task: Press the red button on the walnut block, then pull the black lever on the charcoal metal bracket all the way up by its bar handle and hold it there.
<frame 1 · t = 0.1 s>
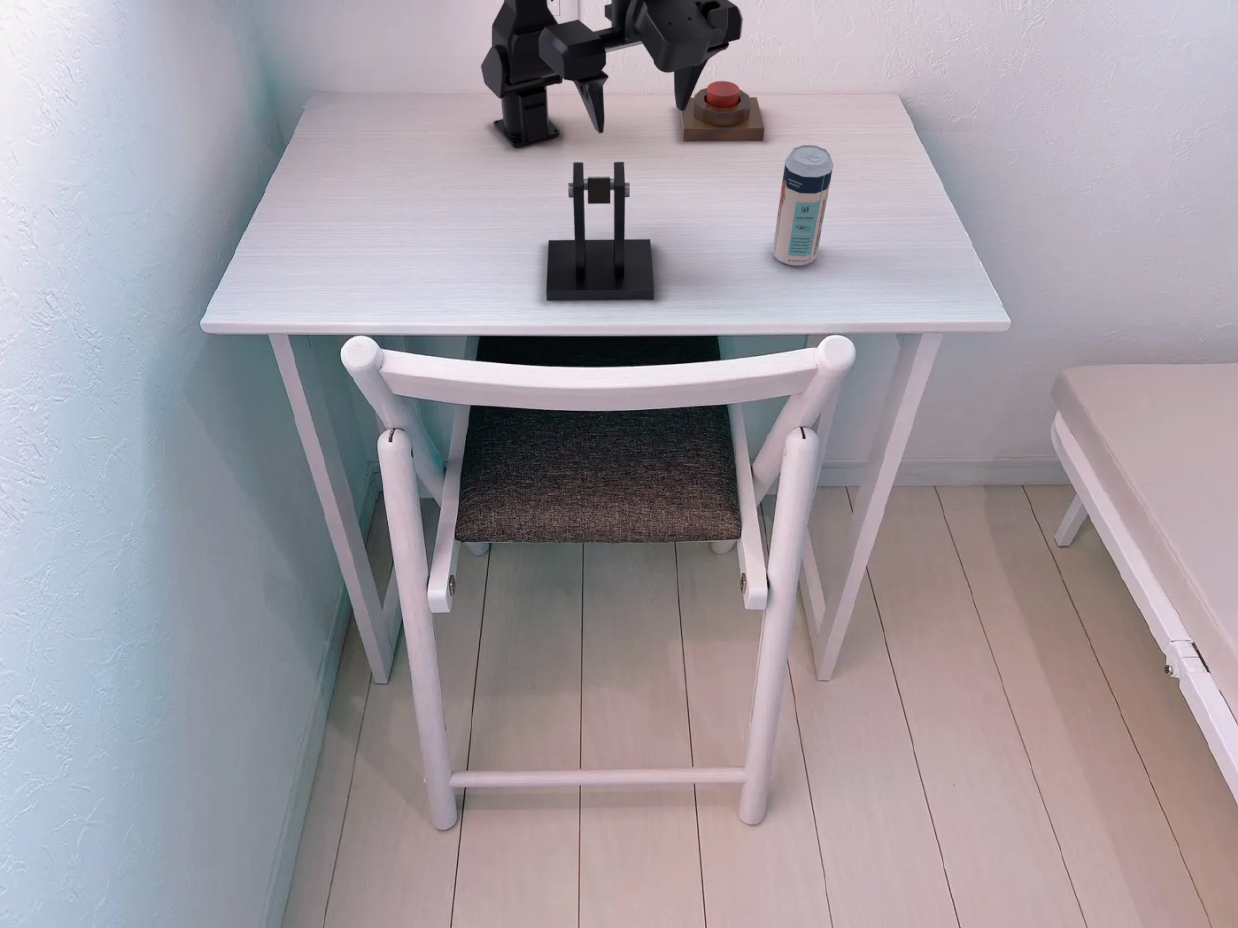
hand: (640, 120, 96), 15 cm above the table, tool pointing down, fingers open, 9 cm apart
button block: (720, 125, 125), on the table
lever: (598, 187, 100), point 8 cm above the table, hinge at -28.0°
beer can: (793, 257, 106), on the table
button: (722, 95, 122), point 4 cm above the table, slide at 0.1 cm
bracket: (599, 273, 104), on the table
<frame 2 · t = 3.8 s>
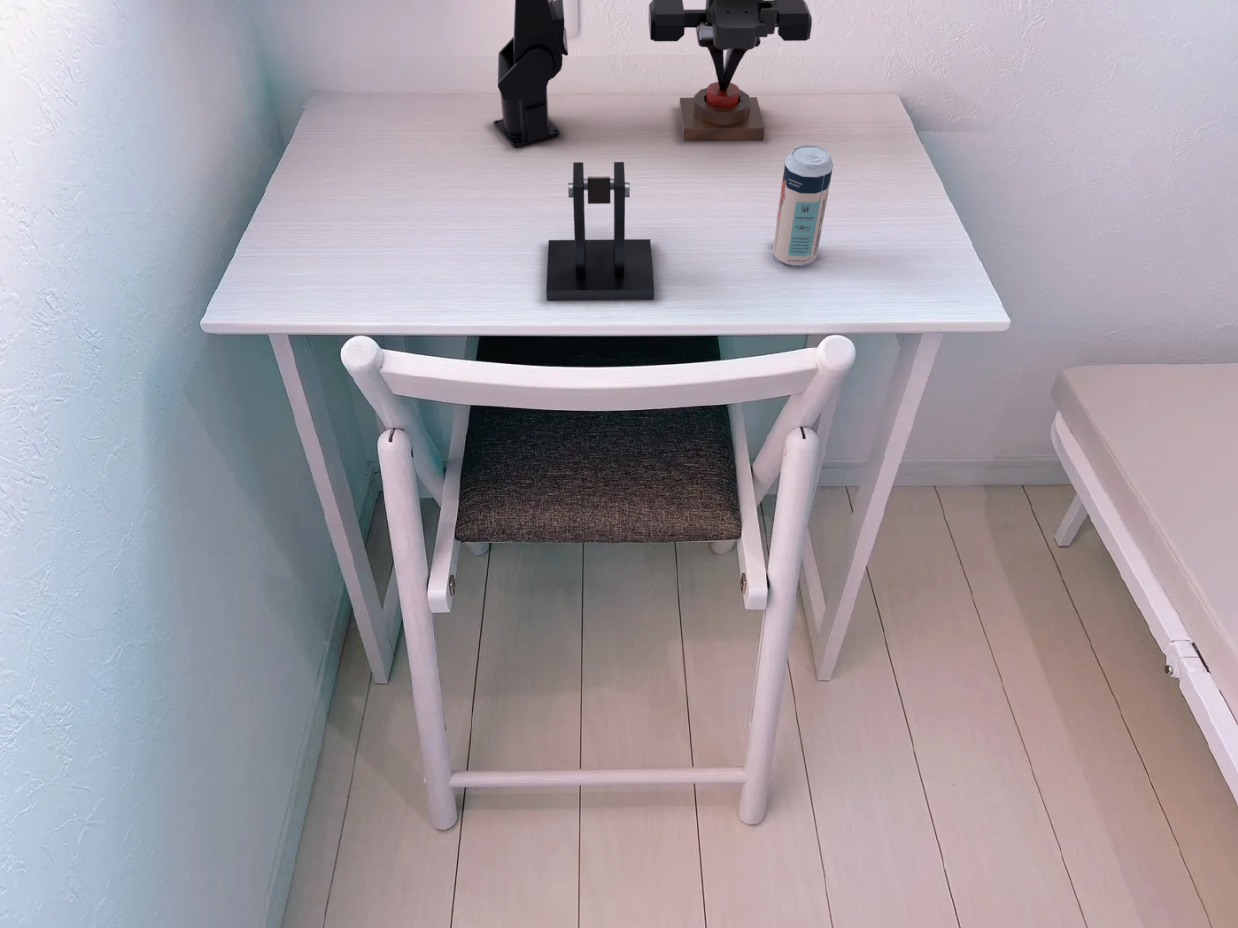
hand: (722, 89, 122), 5 cm above the table, tool pointing down, fingers closed, pressing on button
button: (722, 95, 122), point 4 cm above the table, slide at 0.0 cm, touching gripper
everything else where it was.
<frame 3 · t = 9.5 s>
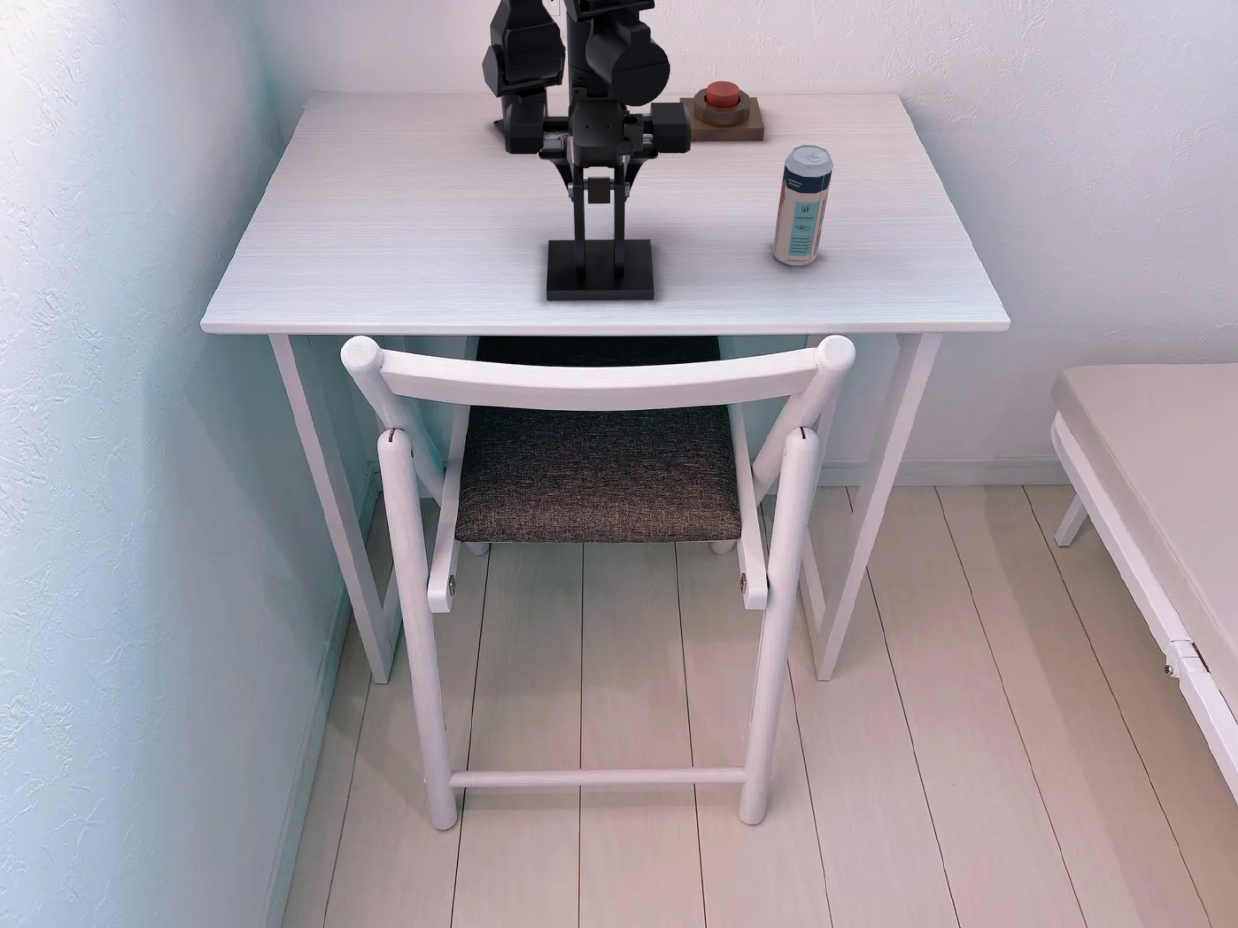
hand: (598, 200, 106), 4 cm above the table, tool pointing down, fingers closed on lever, 5 cm apart
lever: (598, 187, 100), point 8 cm above the table, hinge at -28.0°, touching gripper
button: (722, 95, 122), point 4 cm above the table, slide at 0.1 cm
everything else where it was.
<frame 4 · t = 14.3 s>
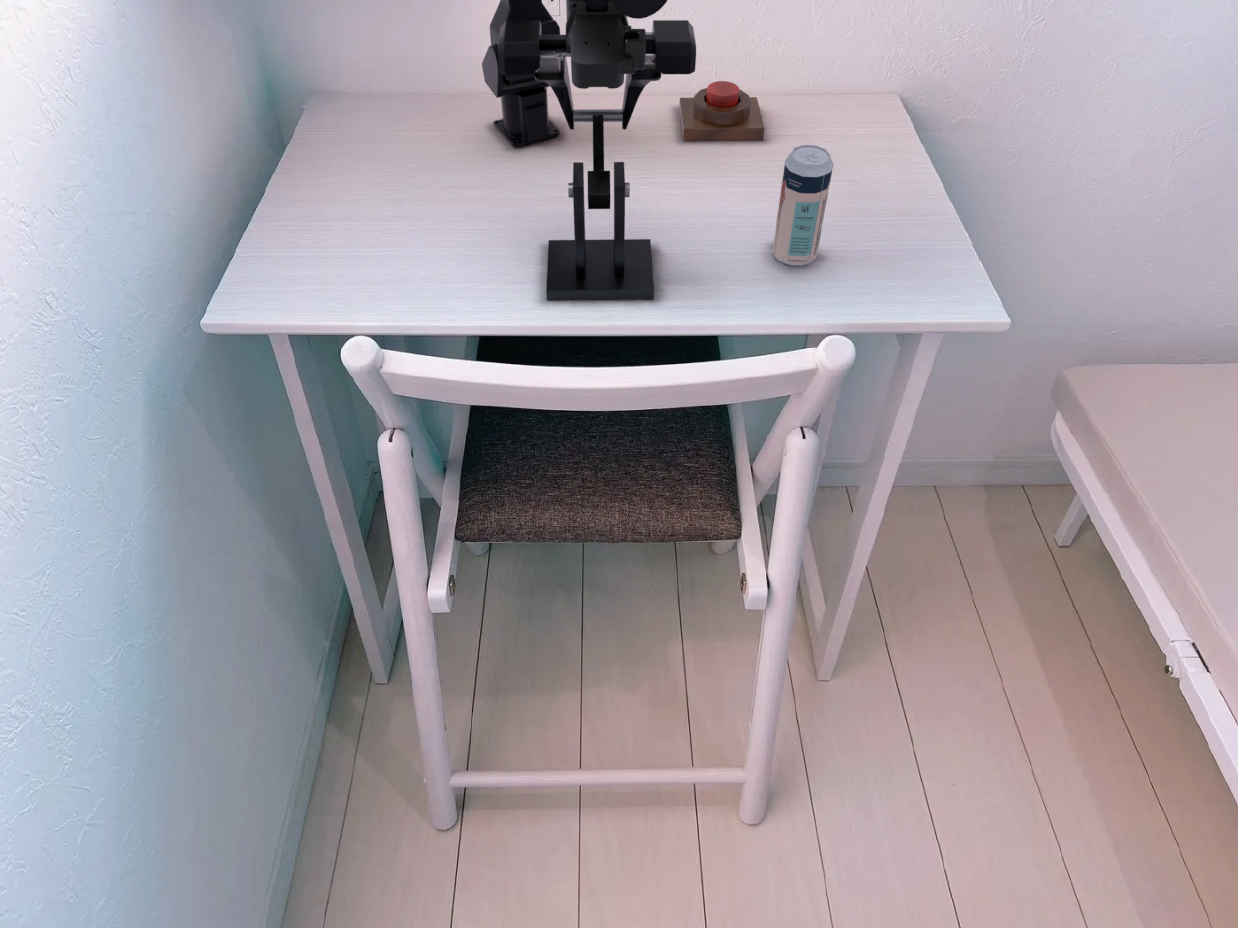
hand: (597, 127, 101), 12 cm above the table, tool pointing down, fingers closed on lever, 5 cm apart
lever: (598, 155, 98), point 12 cm above the table, hinge at 22.2°, touching gripper
everything else where it was.
at the end: lever at +22° (first picture: -28°); button pushed in 1.1 cm at the most during the clip, back to where it started at the end; button slide at 0.1 cm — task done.
